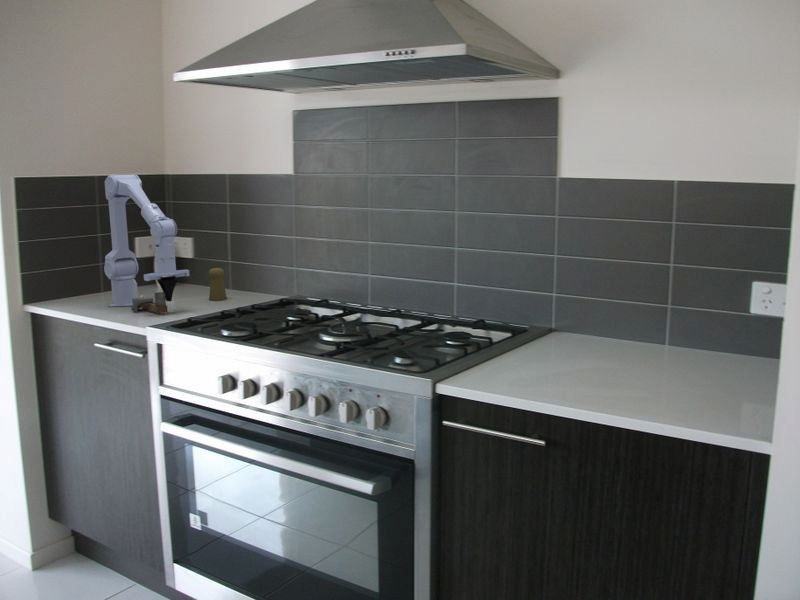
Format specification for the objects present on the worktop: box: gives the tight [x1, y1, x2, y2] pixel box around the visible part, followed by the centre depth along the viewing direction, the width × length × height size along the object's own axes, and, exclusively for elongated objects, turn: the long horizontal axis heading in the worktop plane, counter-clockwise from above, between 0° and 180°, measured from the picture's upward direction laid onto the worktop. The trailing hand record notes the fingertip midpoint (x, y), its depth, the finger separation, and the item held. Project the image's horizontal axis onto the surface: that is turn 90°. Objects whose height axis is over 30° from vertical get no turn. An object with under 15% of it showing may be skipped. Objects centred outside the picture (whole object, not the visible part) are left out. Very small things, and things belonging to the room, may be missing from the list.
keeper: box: [132, 296, 155, 314], centre depth 258 cm, size 3×6×4 cm, turn 109°
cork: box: [208, 267, 228, 302], centre depth 277 cm, size 6×6×11 cm
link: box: [137, 291, 168, 314], centre depth 257 cm, size 18×4×6 cm, turn 42°
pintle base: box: [130, 294, 149, 312], centre depth 262 cm, size 7×7×4 cm
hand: (168, 300), depth 254 cm, fingers closed
